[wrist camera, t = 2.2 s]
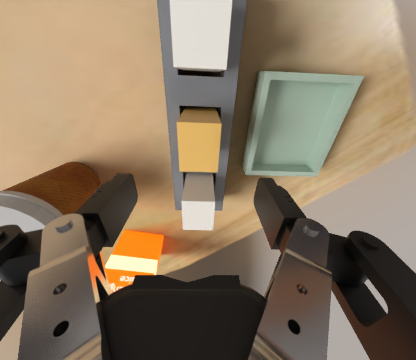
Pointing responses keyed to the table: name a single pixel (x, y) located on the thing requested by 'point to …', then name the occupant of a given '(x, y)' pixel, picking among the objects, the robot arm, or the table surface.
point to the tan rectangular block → (199, 139)
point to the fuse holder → (201, 95)
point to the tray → (295, 121)
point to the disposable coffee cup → (47, 196)
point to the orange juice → (133, 258)
